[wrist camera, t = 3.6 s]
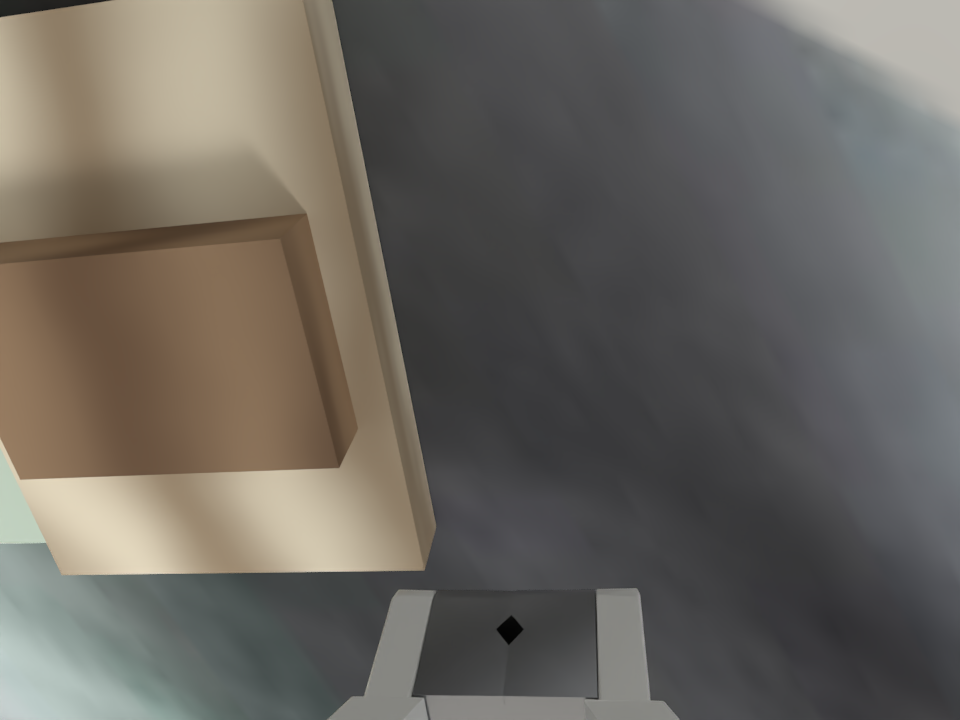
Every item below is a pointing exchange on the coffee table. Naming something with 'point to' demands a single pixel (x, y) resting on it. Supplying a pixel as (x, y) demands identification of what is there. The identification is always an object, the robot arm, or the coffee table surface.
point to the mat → (15, 511)
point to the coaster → (170, 353)
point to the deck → (205, 199)
